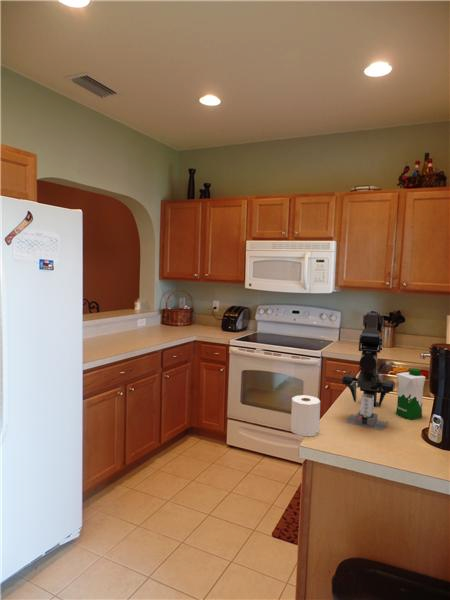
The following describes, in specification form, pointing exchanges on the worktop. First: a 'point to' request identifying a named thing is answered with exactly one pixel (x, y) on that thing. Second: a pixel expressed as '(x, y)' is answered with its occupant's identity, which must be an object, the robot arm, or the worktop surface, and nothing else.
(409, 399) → the milk carton
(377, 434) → the worktop surface
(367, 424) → the stand
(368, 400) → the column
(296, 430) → the toilet paper
